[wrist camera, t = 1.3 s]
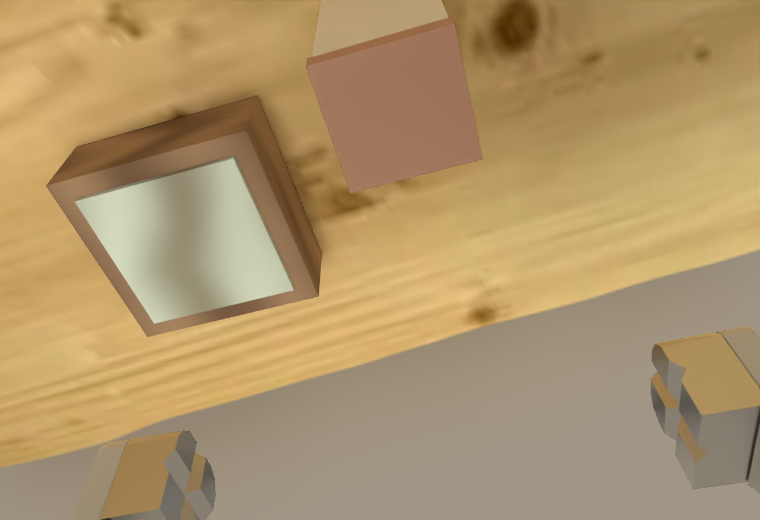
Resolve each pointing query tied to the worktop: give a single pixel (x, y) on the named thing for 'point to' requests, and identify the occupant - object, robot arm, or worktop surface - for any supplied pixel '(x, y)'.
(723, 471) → the robot arm
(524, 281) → the worktop surface
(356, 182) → the two-tone lidded box
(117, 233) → the base
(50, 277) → the worktop surface
